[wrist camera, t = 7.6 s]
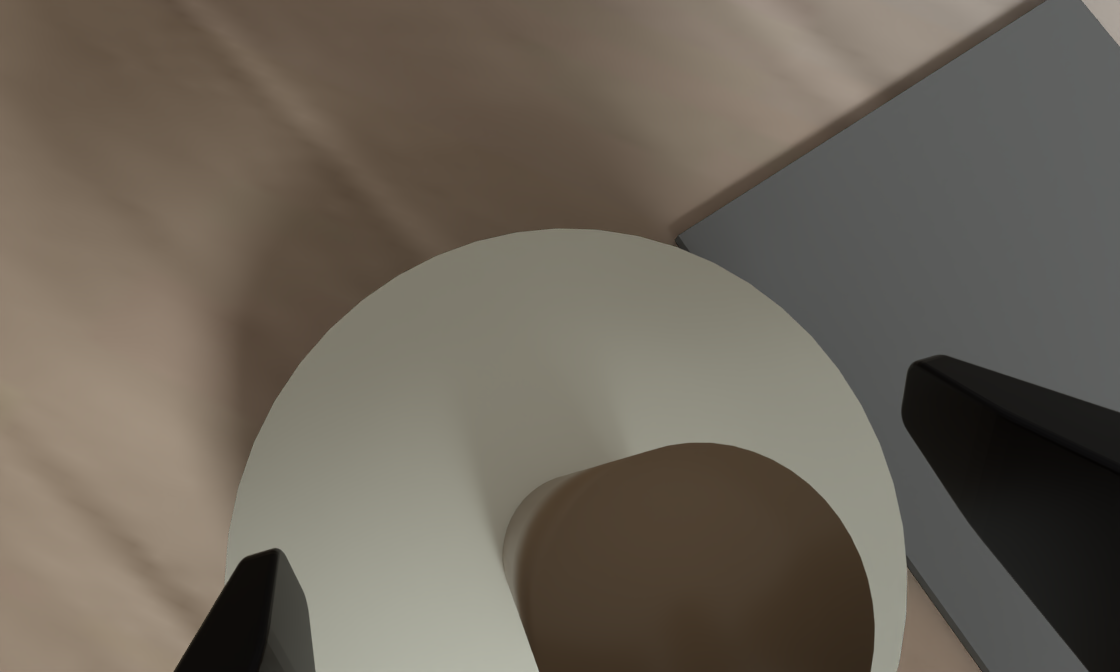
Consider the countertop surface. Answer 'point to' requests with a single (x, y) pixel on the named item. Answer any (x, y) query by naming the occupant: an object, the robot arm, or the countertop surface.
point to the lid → (577, 474)
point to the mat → (957, 271)
